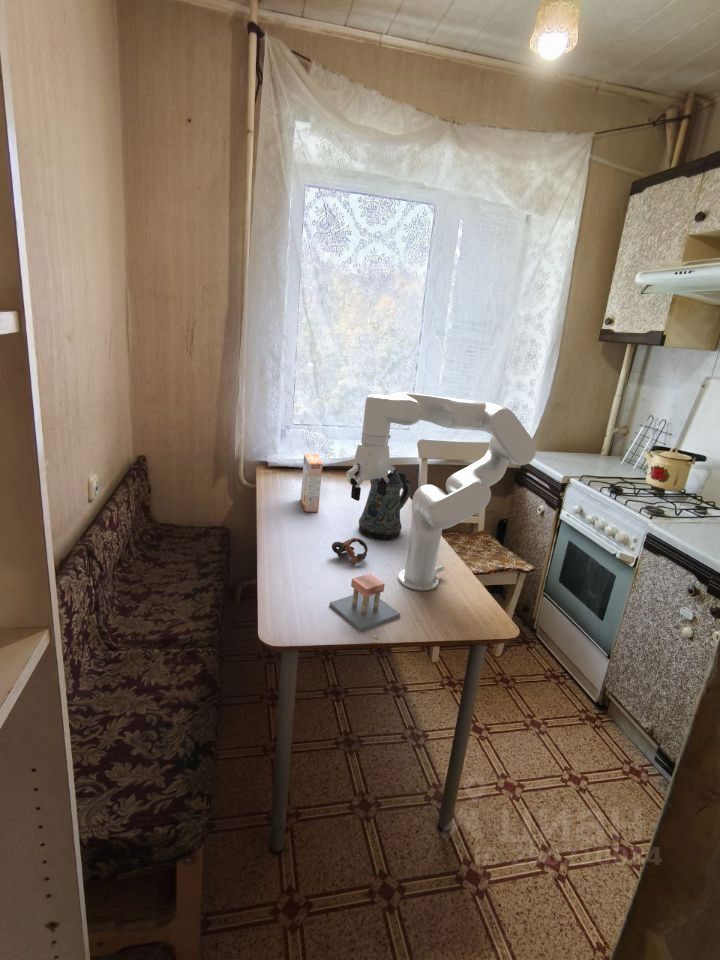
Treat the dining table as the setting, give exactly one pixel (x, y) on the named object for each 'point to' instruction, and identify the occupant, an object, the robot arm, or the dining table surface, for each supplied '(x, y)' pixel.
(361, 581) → the stool
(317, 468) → the cracker box
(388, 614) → the slate mat
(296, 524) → the dining table surface
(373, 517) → the beer stein
